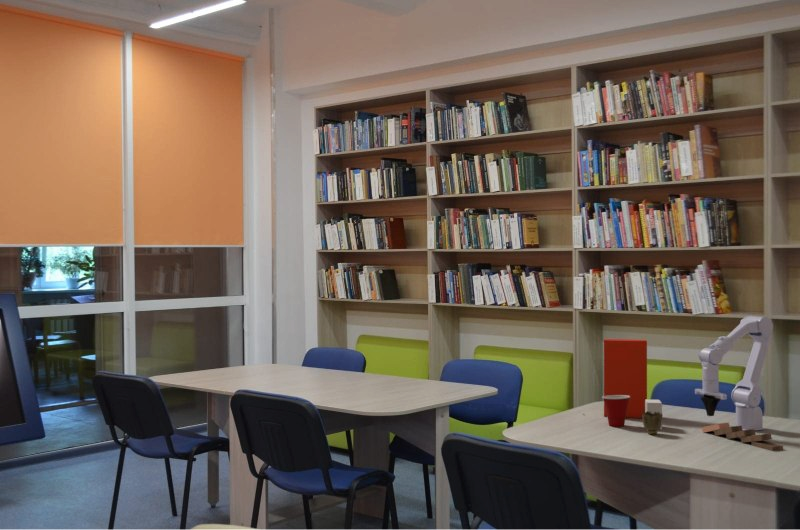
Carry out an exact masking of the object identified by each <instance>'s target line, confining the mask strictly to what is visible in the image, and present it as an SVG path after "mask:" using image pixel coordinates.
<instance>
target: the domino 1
mask: <svg viewBox="0 0 800 530" xmlns="http://www.w3.org/2000/svg"><path fill="white" fill-rule="evenodd" d="M727 427H731V426H730V423H729V422H722V423H715V424H710V425H707V426H701V429H702V430H701V431H702V433H703V434H705V433H710V432H714V430H718V429H722V428H727Z"/></svg>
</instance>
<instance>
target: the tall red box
mask: <svg viewBox="0 0 800 530" xmlns="http://www.w3.org/2000/svg"><path fill="white" fill-rule="evenodd" d="M608 395H627V396H630V398H629V401H628V406H627V412H626V418H629V419H630V418H632V419H633V418H634V419H636V418H637V419H643V418H642V412H643V413H644V412H645V399H648V340H647V339H632V338H631V339H627V338H626V339H624V338H623V339H621V338H603V396H608ZM603 416H604V417H606V418H608V417H607V413H606V407H605V403H604V402H603Z"/></svg>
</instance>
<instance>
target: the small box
mask: <svg viewBox="0 0 800 530" xmlns="http://www.w3.org/2000/svg"><path fill="white" fill-rule="evenodd" d="M647 411H648V412H651V414H652V413H653V414H654V412H657V413H658V412H659V413H660V414H661V413H662V414H663V403H662V401H661V400H660V399H651V398H649V399H648V398H647V399H645V413H646V412H647ZM658 430H659V431H662V430H663V422H662V423H661V427H660V429H658ZM658 430H657V431H658Z"/></svg>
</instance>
